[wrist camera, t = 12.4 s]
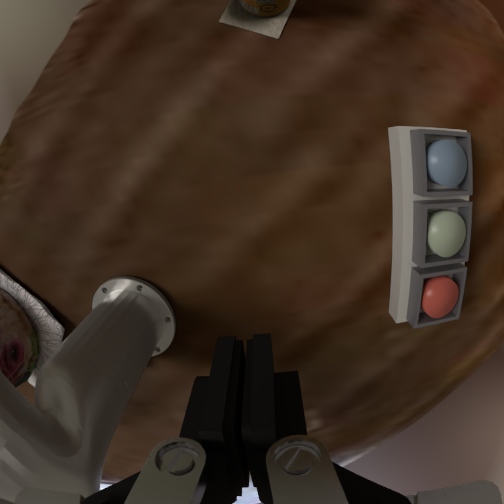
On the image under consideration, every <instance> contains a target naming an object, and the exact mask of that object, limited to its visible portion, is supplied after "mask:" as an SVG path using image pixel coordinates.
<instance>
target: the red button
mask: <svg viewBox="0 0 504 504" xmlns="http://www.w3.org/2000/svg"><path fill="white" fill-rule="evenodd" d="M458 295H459V290H458V286H457V284H456V283H455V282H454V281H453V280H451V279H450V278H449V277H448V276H446V275H442V276H436V277H429V278H427V279H426V280H425V281H424V282H423V288H422V296H421V304H420V306H421V308H422V309H423V310H424V311H425V312H426V313H427V314H428V315H429V316H430V317H432V318H440V317H443V316H445V315H446V314H448V313H449V312H450V311H451V310H452V309H453V307H454V306H455V304H456V302H457V299H458Z"/></svg>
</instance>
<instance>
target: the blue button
mask: <svg viewBox="0 0 504 504" xmlns="http://www.w3.org/2000/svg"><path fill="white" fill-rule="evenodd" d="M425 151H426V169H427V177H428V179H429V180H430V181H432V182H433V183H435V184H438V185H442V186H446V187H454V186H457V185H458V184H460V183H461V181H462V180H463V179H464V177H465V174H466V170H467V160H466V156H465V153H464V151H463V149H462V148H461V146H460V145H459V144H458V143H456V142H455V141H452V140H434V141H432V142H430V143H429V144H428V145H427V146H426V148H425Z"/></svg>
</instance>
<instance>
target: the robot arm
mask: <svg viewBox="0 0 504 504" xmlns="http://www.w3.org/2000/svg"><path fill="white" fill-rule="evenodd" d="M175 331H176V320H175V315H174V312H173V309H172V308H171V306H170V304H169V302H168V301H167V299H166V298H165V297H164V295H163V294H162V293H161V292H160V291H159V290H158V289H157V288H155V287H154V286H152V285H151V284H150V283H148V282H146V281H144V280H142V279H139V278H136V277H131V276H118V277H114V278H111V279H109V280H108V281H106V282H105V283H103V284H102V285H101V286H100V287H99V289H98V290H97V291H96V293H95V295H94V298H93V303H92V312H91V313H90V314H89V315H88V316H87V317H86V318H85V319H84V320H83V321H82V322H81V323H80V324H79V325H78V326H77V327H76V328H75V329H74V330H73V331H72V333H71V334H70V335H69V336H68V337H67V338H66V339H65V340H64V341H63V342H62V343H61V344H60V346H59V347H58V348H57V349H56V350H55V351H54V352H53V353H52V354H51V356H50V357H49V358H48V359H47V360H46V361H45V363H44V364H43V365H42V367H41V368H40V371H39V373H38V375H37V379H36V383H35V406H34V405H33V404H31V403H30V402H29V401H28V400H27V399H26V398H25V397H24V396H23V395H22V394H21V393H20V392H19V391H18V390H17V389H16V388H15V387H14V386H13V384H12V383H11V382H10V381H9V380H8V379H7V378H6V377H5V376H4V374H3V373H2V372H1V371H0V504H233V503H234V502H235V501H237V496H242V487H249V471H250V474H251V478H252V482H253V486H254V487H257V492H258V496H259V500H260V501H261V502H262V503H264V504H502V499H501V494H500V491H499V489H498V487H497V486H496V485H495V484H494V483H493V482H490V481H487V480H482V481H475V482H471V483H467V484H462V485H457V486H452V487H447V488H441V489H435V490H430V491H421V492H417V494H416V495H410V496H404V495H402V494H400V493H398V492H395V491H393V490H391V489H388V488H386V487H383V486H381V485H379V484H377V483H375V482H372V481H370V480H368V479H366V478H364V477H361V476H359V475H357V474H355V473H353V472H351V471H349V470H347V469H345V468H343V467H341V466H339V465H337V464H335V463H333V462H332V461H331V459H330V456H329V454H328V451H327V449H326V448H325V446H324V445H323V443H321V442H320V441H319V440H317V439H315V438H313V437H310V436H307V430H306V423H305V416H304V409H303V402H302V395H301V389H300V382H299V375H298V371H291V372H280V373H274V366H273V354H272V343H271V334H258V335H254V336H253V339H250V340H247V349H246V359H245V353H244V346H243V341H242V340H237V339H236V336H228V337H218V340H217V344H216V349H215V353H214V358H213V362H212V367H211V371H210V376H197V377H196V378H195V381H194V384H193V388H192V391H191V395H190V399H189V402H188V406H187V410H186V413H185V417H184V421H183V425H182V428H181V432H180V436H179V437H177V438H171V439H168V440H165V441H163V442H161V443H160V444H158V445H157V446H156V447H155V448H154V449H153V451H152V452H151V453H150V455H149V457H148V459H147V461H146V463H145V465H144V467H143V469H142V470H141V471H140V472H138V473H136V474H134V475H132V476H130V477H128V478H126V479H124V480H122V481H120V482H118V483H116V484H113V485H111V486H109V487H107V488H105V489H103V490H100V491H99V489H100V483H101V477H102V471H103V466H104V462H105V458H106V454H107V451H108V448H109V445H110V443H111V440H112V437H113V435H114V433H115V430H116V428H117V426H118V424H119V422H120V419H121V417H122V415H123V413H124V411H125V409H126V407H127V404H128V402H129V400H130V398H131V396H132V394H133V392H134V390H135V388H136V386H137V384H138V382H139V380H140V378H141V376H142V374H143V372H144V370H145V368H146V366H147V364H148V362H149V360H150V358H151V357H153V356H156V355H159V354H161V353H162V352H164V351H165V350H166V349H167V348H168V347H169V346H170V344H171V342H172V340H173V338H174V335H175Z"/></svg>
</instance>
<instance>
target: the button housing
mask: <svg viewBox="0 0 504 504" xmlns="http://www.w3.org/2000/svg"><path fill="white" fill-rule="evenodd" d="M388 132H389V143H390V156H391V171H392V195H393V250H392V274H391V290H390V303H389V313H390V315H391V316H392V318H393V319H394V321H395V322H396V323H401V322H406V321H408V322H409V323H410V325H411V326H412V327H413V329H415V328H420V327H425V326H429V325H434V324H438V323H443V322H447V321H451V320H456V319H459V315H460V310H461V305H462V299H463V294H464V288H465V281H466V274H467V267H466V266H464V264H465V262H467V261H468V258H469V249H470V238H471V223H472V202H470V201H469V195H473V176H472V149H471V135H470V133H468V132H467V131H466V130H456V129H444V128H429V127H408V126H396V127H390V128H388ZM434 140H452V141H455V142H456V143H458V144H459V145H460V146H461V148H462V149H463V151H464V153H465V156H466V160H467V170H466V174H465V177H464V179H463V180H462V181H461V183H460V184H458V185H457V186H454V187H446V186H442V185H438V184H435V183H433V182H432V181H430V180H429V179H428V177H427V169H426V151H425V148H426V146H427V145H428V144H429V143H430V142H432V141H434ZM438 209H446V210H448V211H451V212H454V213H456V214H458V215H459V216H460V217H461V218H462V219H463V221H464V223H465V227H466V236H465V240H464V243H463V245H462V247H461V248H460V250H459V251H458V252H457V253H456V254H454V255H452V256H450V257H441V256H439V255H438V254H436V253H435V252H433V251H432V250H430V249H429V248H428V247H427V246H426V235H427V218H428V217H429V215H430V214H431V213H432V212H434V211H436V210H438ZM442 275H446V276H448V277H449V278H450V279H451V280H453V281H454V282H455V283H456V284H457V286H458V290H459V295H458V299H457V302H456V304H455V306H454V307H453V309H452V310H451V311H450V312H449V313H448V314H446V315H445V316H443V317H440V318H432V317H430V316H429V315H428V314H427V313H426V312H425V311H424V310H423V309H422V308H421V306H420V304H421V296H422V288H423V282H424V281H425V280H426V279H427V278H429V277H436V276H442Z"/></svg>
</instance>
